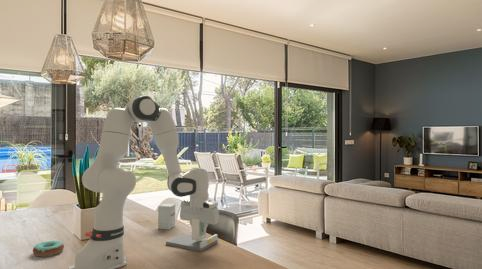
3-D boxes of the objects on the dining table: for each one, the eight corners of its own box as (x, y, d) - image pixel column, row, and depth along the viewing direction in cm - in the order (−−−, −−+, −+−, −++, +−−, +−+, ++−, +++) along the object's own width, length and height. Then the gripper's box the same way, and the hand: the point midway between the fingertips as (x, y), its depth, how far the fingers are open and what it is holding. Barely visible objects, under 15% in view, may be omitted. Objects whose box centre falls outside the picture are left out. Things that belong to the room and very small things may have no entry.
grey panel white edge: (202, 251, 151) (202, 242, 151) (165, 244, 160) (166, 236, 160) (217, 242, 163) (217, 234, 163) (183, 236, 172) (183, 228, 172)
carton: (198, 236, 164) (198, 215, 163) (206, 237, 162) (206, 216, 162) (191, 239, 158) (191, 218, 158) (199, 241, 156) (199, 219, 156)
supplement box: (170, 229, 184) (170, 206, 184) (157, 228, 186) (157, 205, 185) (175, 226, 191) (175, 203, 191) (163, 225, 193) (163, 203, 193)
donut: (56, 246, 157) (56, 238, 157) (68, 252, 150) (68, 243, 149) (28, 253, 147) (28, 244, 147) (39, 260, 140) (39, 250, 140)
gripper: (177, 201, 161) (177, 229, 162) (214, 205, 152) (213, 236, 153) (185, 198, 167) (184, 226, 167) (220, 202, 158) (220, 232, 158)
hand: (198, 231), depth 160 cm, fingers closed on carton, 4 cm apart
